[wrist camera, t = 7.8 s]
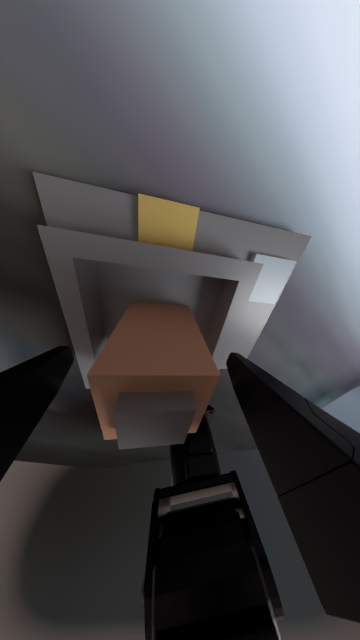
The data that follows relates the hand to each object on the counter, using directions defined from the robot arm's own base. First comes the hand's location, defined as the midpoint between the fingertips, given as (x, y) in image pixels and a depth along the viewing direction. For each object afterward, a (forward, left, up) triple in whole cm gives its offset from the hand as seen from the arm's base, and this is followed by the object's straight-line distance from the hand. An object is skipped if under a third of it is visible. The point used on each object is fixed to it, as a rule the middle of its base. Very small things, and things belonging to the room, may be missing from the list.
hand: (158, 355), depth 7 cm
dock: (+2, -1, -4) cm, 5 cm away
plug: (0, 0, -3) cm, 3 cm away
